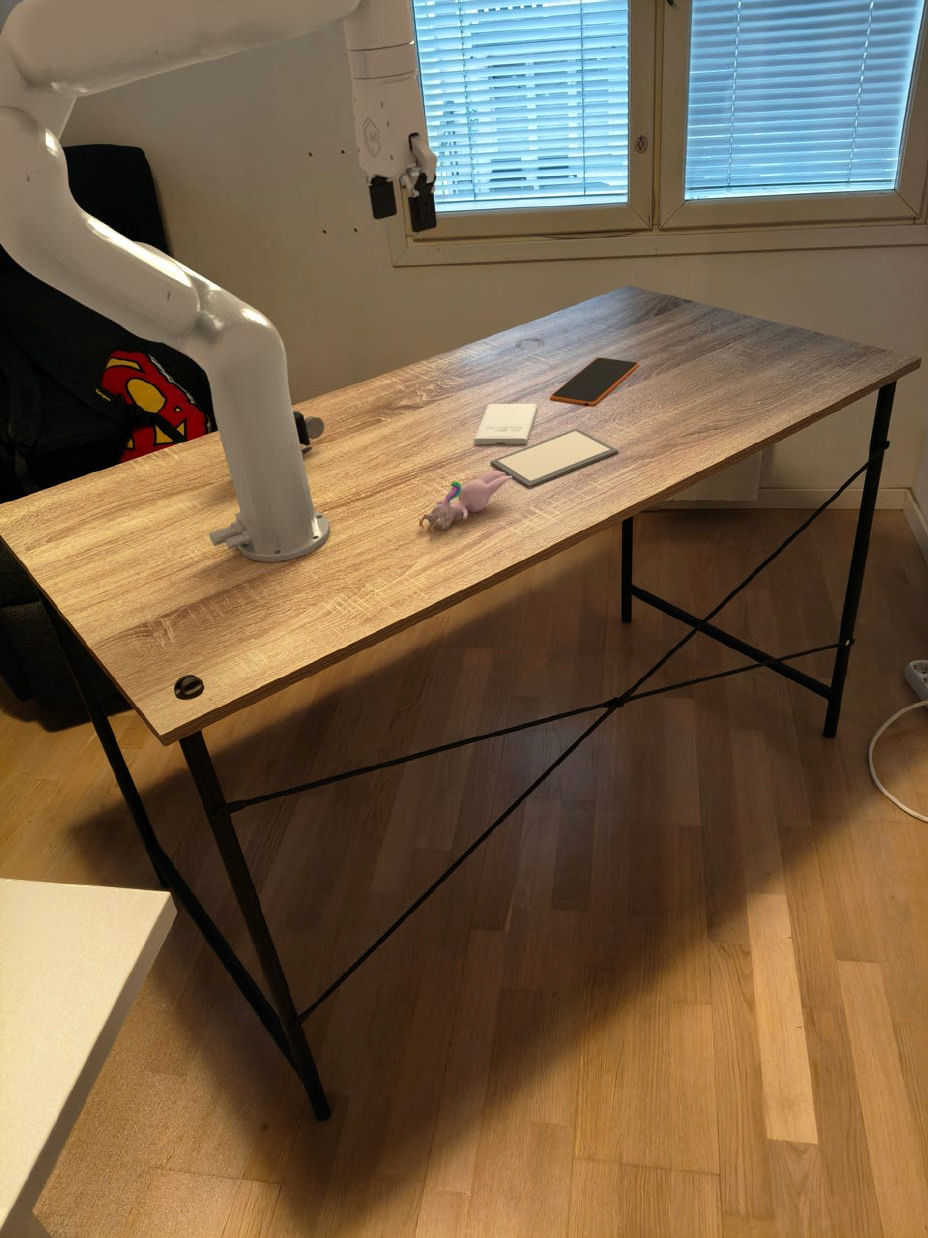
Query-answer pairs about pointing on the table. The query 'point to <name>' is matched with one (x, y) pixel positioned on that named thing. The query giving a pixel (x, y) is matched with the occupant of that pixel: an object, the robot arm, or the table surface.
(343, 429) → the table surface
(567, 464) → the mat
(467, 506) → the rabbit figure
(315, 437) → the figurine character
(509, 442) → the external hard drive
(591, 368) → the smartphone
